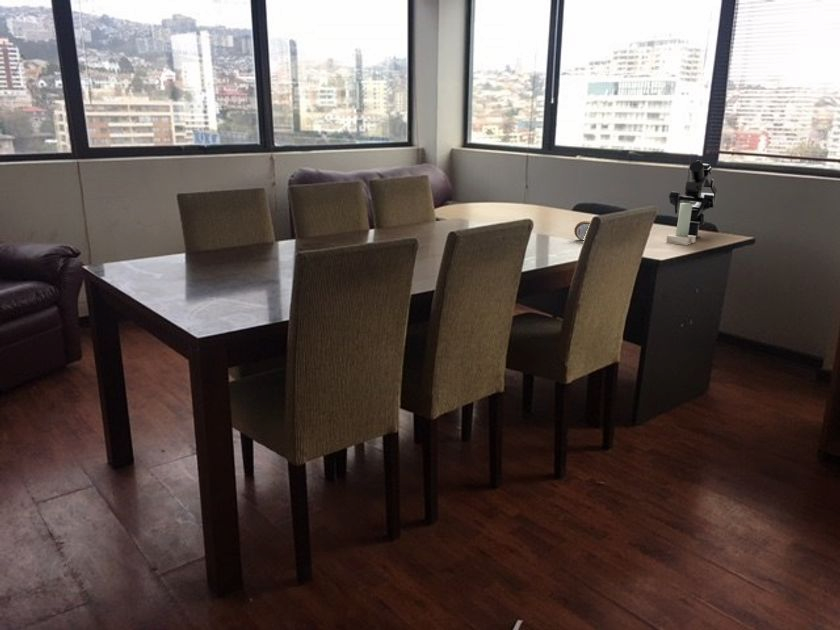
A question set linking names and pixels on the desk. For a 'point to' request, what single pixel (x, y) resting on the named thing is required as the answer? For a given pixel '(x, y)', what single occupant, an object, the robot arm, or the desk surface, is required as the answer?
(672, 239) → the plinth
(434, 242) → the desk surface
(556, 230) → the desk surface
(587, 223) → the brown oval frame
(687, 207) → the post
